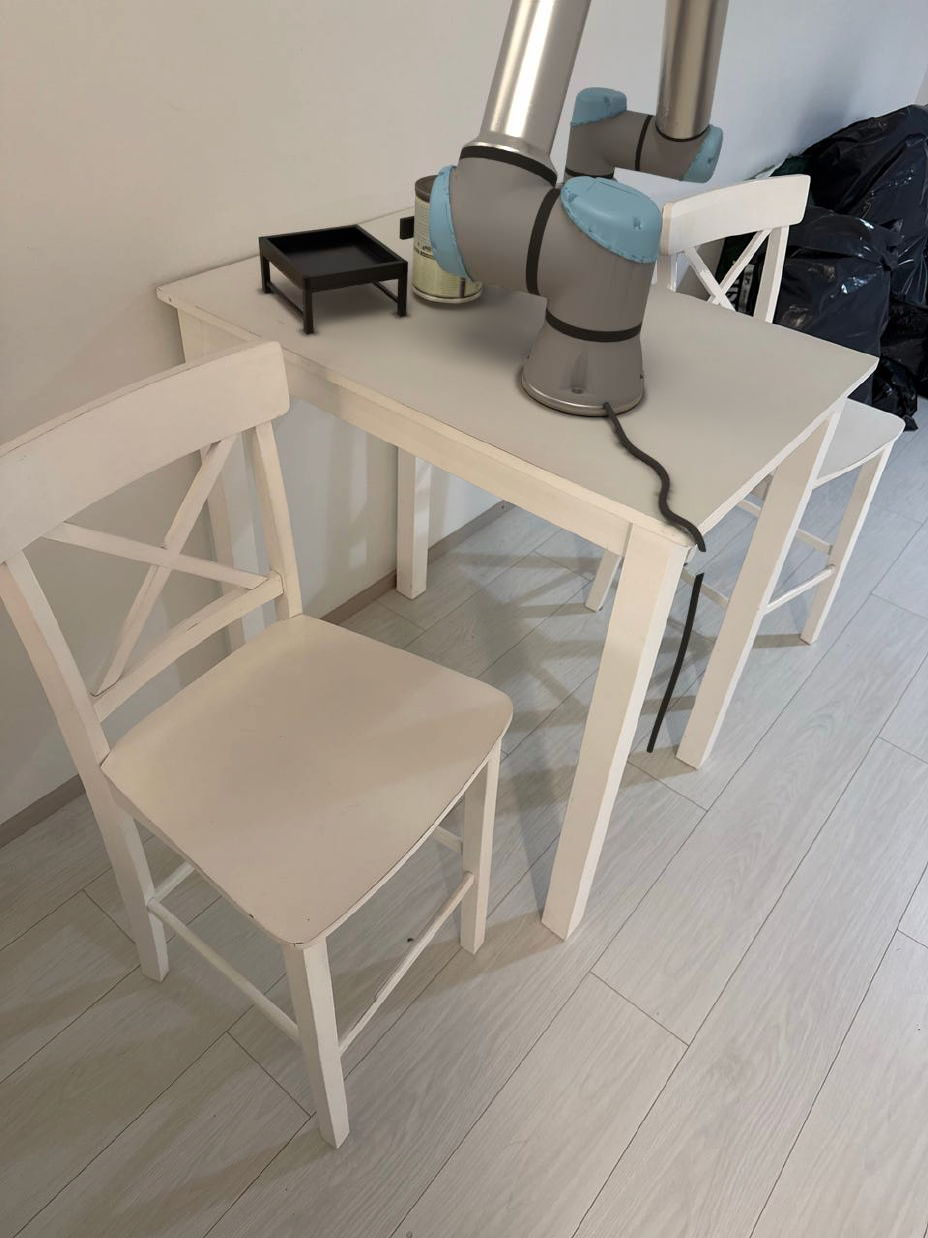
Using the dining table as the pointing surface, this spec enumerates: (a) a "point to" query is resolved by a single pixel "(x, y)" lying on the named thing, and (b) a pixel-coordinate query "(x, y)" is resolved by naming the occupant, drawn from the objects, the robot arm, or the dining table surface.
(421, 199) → the coffee can
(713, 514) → the dining table surface
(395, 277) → the stand
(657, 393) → the dining table surface
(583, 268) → the robot arm
